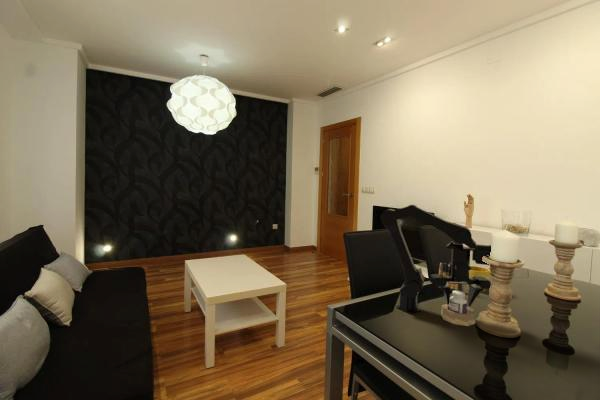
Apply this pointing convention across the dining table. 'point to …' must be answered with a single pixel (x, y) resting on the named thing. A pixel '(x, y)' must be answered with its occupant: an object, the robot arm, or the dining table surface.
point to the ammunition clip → (452, 286)
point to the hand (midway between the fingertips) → (458, 305)
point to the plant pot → (479, 272)
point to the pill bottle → (458, 302)
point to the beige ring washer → (458, 316)
